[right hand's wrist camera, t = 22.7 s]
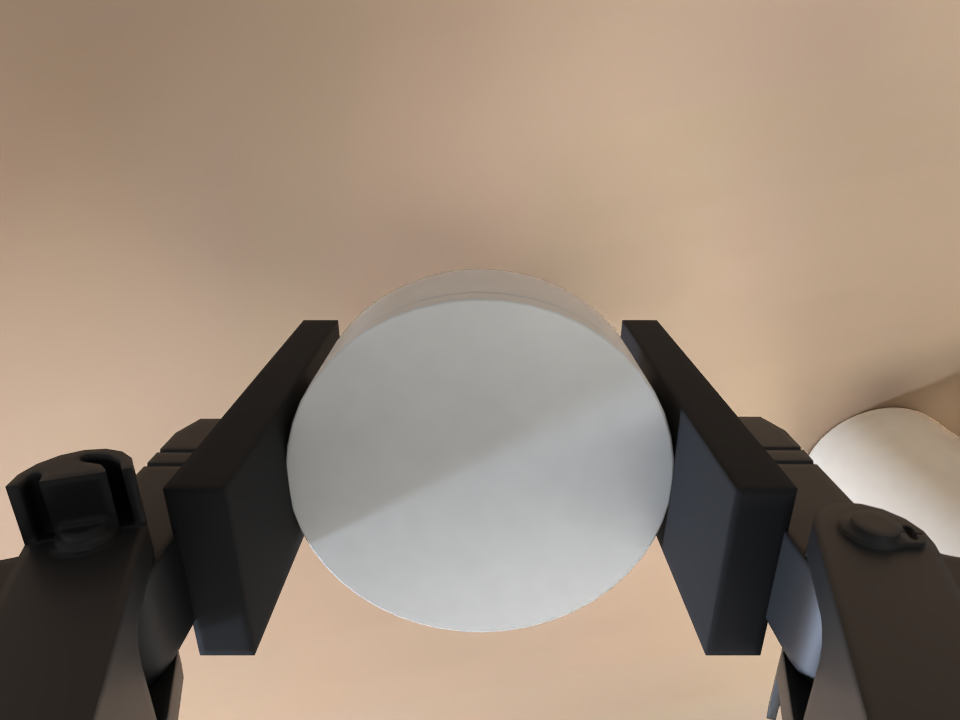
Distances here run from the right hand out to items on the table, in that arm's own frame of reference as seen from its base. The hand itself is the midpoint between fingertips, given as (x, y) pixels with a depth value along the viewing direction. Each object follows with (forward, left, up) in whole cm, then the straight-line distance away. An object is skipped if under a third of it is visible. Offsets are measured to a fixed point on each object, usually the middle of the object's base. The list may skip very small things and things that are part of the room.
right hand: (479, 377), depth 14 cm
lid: (0, 0, +4) cm, 4 cm away
